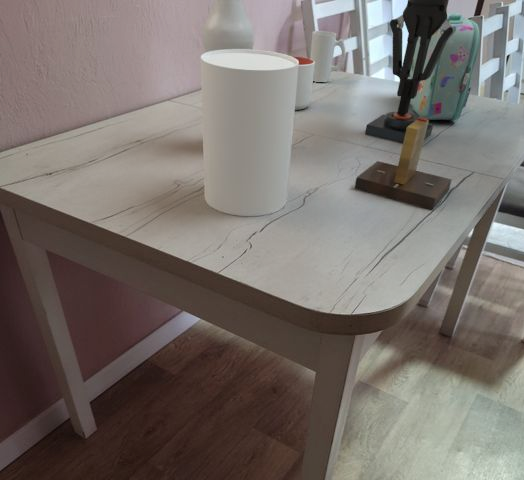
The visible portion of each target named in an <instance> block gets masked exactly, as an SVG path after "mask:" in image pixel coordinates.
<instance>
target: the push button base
mask: <svg viewBox="0 0 524 480" xmlns="http://www.w3.org/2000/svg"><path fill="white" fill-rule="evenodd" d="M397 112H398V111H389V112H387V113H385V114H381V115H380V116H378V117H377V118H375V119H374V120H372V121H370V122H369V123H367V124H366V127H365V132H364V136H368V137H373V138H378V139H381V140H385V141H391V142H395V143H399V144H402V145H403V142H404V138H405V133H406V129H407V127H408V126H409V125H410V124H412V123H413V122H414V121H416V120H417V119H418V118H419V116H418V115H416V114H414V113H410V112H408V113H407V114H410V115H411V116H412V118H411V119H408V120H406V119H398V118H395V117H393V114H394V113H397ZM433 128H434V125H433V124H429V123H428V126H427V130H426V134H425V138H424V141H426V140H427V139H428V138H429V137H430V136H432V132H433Z"/></svg>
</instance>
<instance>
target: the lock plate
mask: <svg viewBox="0 0 524 480" xmlns="http://www.w3.org/2000/svg"><path fill="white" fill-rule="evenodd" d="M397 168H398V165H397V164H391V163H388V162H384V161H380V160H377V161H376V162H374V163H373V164H372V165H370V166H369V167H368V168H367V169H365V170H364V171H363V172H362V173H360V174H359V175H357V177H355V182H354V183H355V184H354V189H355V190H359V191H361V192H366V193H370V194H373V195H376V196H380V197H384V198H388V199H391V200H395V201H398V202H402V203H404V204H405V203H406V204H409V205H412V206H416V207H420V208H423V209H428V210H431V211H433V210H434V209H435V207H436V206H437V205H438V204H439V203H440V201H441V200H442V199H443V198H444V197H445V195H446V194H447V193H448V192H449V191H450V187H451V185H452V181H453V180H452V179H451V178H447V177H444V176H439V175H435V174H432V173H427V172H424V171H420V170H416V172H415V175H414V176H413V177H411V178H410V179H409V180H408V181H407V182H406V183H405V184H404V185H403V184H399V183H395V182H394V180H395V176H396V172H397Z"/></svg>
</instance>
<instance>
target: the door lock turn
mask: <svg viewBox="0 0 524 480" xmlns="http://www.w3.org/2000/svg"><path fill="white" fill-rule="evenodd" d="M429 122H430V120H428V119H426V118H421V117H419V116H418V119H417V120H416V121H414V122H413V123H412V124H410V125H409V126H408V127H407V129H406V133H405V138H404V142H403V144H402V146H401V151H400V155H399V160H398V163H397V166H398V168H397V172H396V176H395V180H394V182H395V183H399V184H403V185H404V184H405V183H406V182H407V181H408V180H409V179H410V178H411V177H413V176H414V175H415V172H416V171H417V168H418V165H419V160H420V156H421V153H422V148H423V146H424V142H425V140H424V138H425V134H426V130H427V126H428V124H429Z"/></svg>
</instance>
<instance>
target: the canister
mask: <svg viewBox="0 0 524 480" xmlns="http://www.w3.org/2000/svg"><path fill="white" fill-rule="evenodd" d="M291 56H292V55H289V54H286V53H280V52H275V51H269V50H261V49H252V50H251V49H224V50H215V51H210V52H206V53H205V52H203V53H202V54H201V55H200V80H201V81H200V82H201V84H200V85H201V87H200V88H201V113H202V114H201V118H202V151H203V152H202V155H203V183H204V184H203V185H204V188H203V189H204V201H205V202H206V204H207V205H208V206H209V207H211V208H212V209H214V210H216V211H218V212H221V213H223V214H228V215H232V216H237V217H238V216H240V217H260V216H261V217H262V216H266V215H269V214H270V215H271V214H273V213H276V212H279V211H280V210H282V209H283V208H284V207H285V206H286V204H287V202H288V189H289V178H290V167H291V157H292V156H291V155H292V146H293V133H294V120H295V113H296V112H295V111H296V110H295V100H296V89H297V78H298V66H299V61H298V60H297V59H296V58H294V57H291Z"/></svg>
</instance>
